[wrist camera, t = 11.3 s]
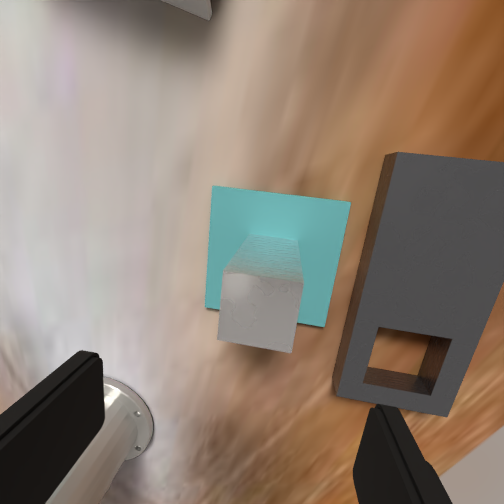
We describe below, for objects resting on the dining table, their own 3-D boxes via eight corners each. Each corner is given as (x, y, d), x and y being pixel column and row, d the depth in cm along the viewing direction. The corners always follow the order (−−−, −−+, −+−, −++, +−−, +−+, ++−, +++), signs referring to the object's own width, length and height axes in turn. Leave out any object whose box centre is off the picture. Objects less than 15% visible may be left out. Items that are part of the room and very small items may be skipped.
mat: (323, 323, 26) (324, 327, 25) (206, 304, 27) (204, 307, 26) (349, 201, 22) (351, 202, 22) (214, 185, 24) (212, 185, 23)
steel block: (290, 285, 25) (291, 353, 15) (244, 278, 25) (217, 339, 15) (297, 240, 23) (304, 283, 14) (249, 233, 24) (222, 270, 14)
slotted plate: (432, 395, 26) (447, 417, 24) (332, 377, 27) (336, 396, 25) (519, 168, 20) (551, 166, 18) (385, 154, 21) (397, 151, 19)
